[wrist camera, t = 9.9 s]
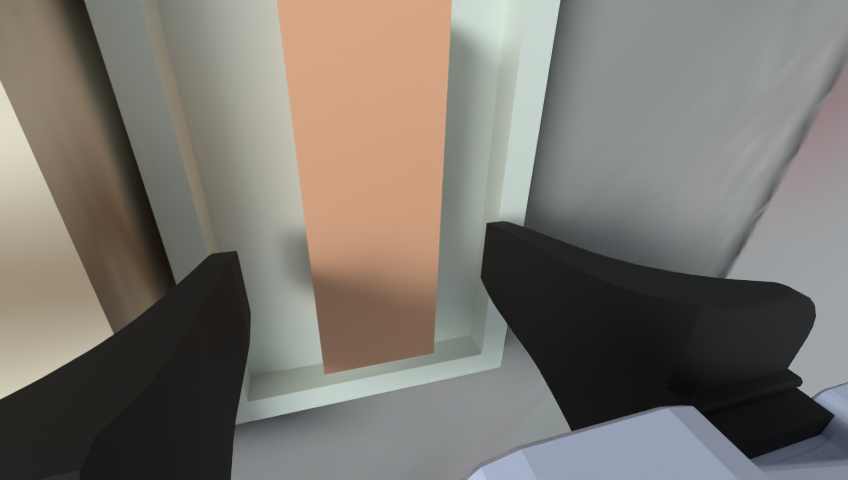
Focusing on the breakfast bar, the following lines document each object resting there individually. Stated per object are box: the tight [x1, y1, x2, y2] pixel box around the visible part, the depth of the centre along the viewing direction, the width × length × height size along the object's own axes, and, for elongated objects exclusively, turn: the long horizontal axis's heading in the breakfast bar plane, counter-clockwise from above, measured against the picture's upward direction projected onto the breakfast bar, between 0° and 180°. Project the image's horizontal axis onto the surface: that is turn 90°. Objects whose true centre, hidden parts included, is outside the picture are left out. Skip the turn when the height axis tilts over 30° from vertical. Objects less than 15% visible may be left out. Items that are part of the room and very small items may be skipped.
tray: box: [84, 0, 560, 425], centre depth 13 cm, size 16×11×2 cm
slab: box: [277, 0, 452, 375], centre depth 11 cm, size 10×4×3 cm, turn 178°
